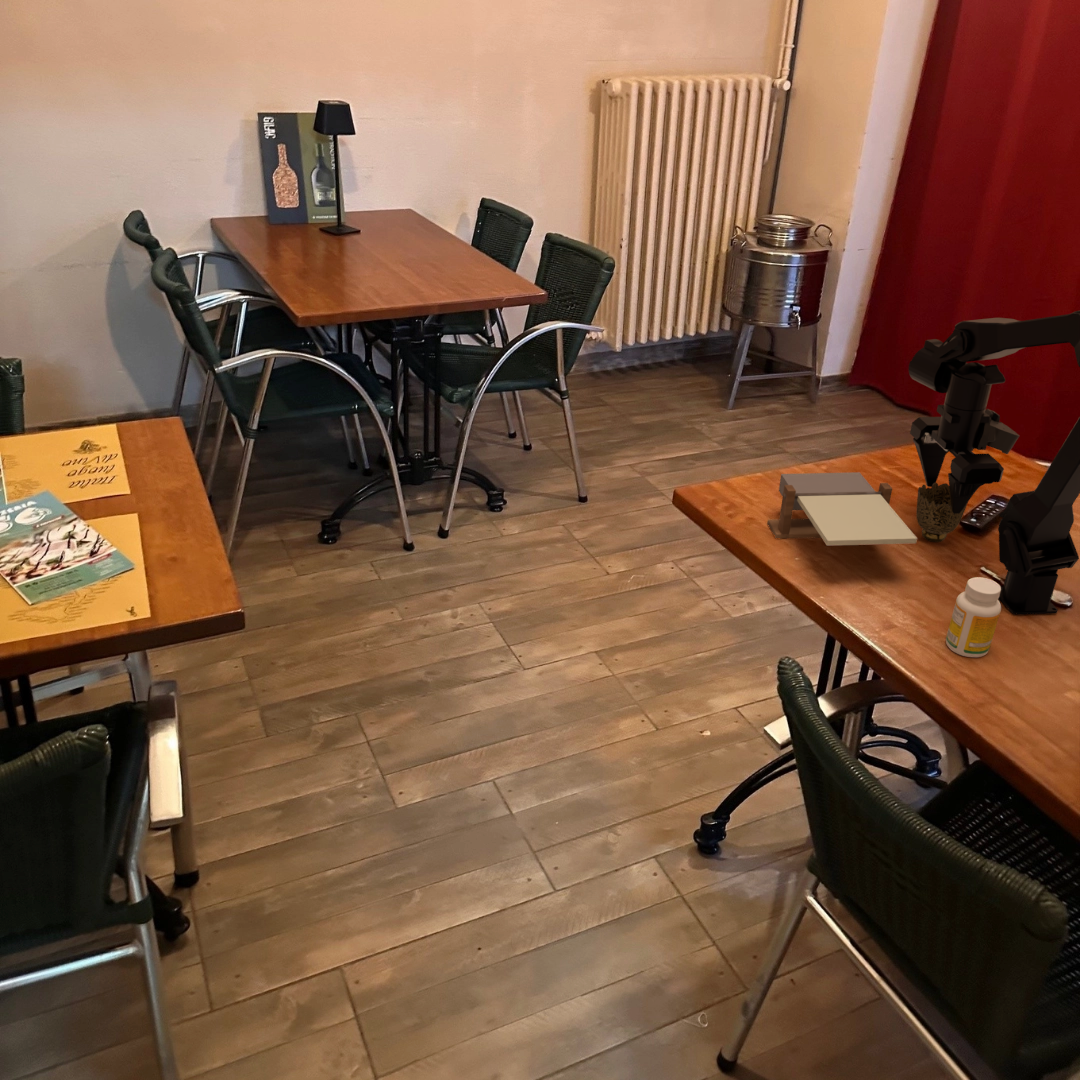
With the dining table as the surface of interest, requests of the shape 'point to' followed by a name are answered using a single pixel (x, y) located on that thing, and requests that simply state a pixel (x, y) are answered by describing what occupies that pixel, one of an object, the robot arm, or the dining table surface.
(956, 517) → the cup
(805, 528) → the post frame
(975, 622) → the supplement bottle
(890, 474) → the dining table surface
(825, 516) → the trapdoor
